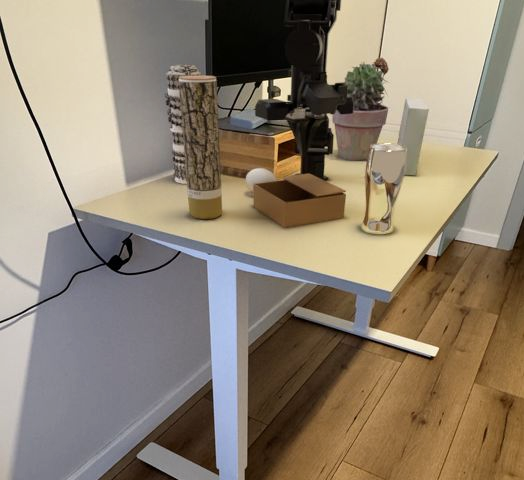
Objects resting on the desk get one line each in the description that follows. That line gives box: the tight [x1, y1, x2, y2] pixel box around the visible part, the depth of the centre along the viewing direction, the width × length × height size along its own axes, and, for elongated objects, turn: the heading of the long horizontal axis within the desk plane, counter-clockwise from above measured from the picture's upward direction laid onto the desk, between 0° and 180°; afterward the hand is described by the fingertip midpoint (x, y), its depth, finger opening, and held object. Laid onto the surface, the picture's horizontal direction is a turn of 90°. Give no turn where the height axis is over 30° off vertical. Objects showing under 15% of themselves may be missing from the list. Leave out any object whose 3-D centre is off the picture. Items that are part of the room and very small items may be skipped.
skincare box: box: [396, 97, 430, 176], centre depth 132 cm, size 21×5×16 cm, turn 168°
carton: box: [252, 179, 347, 229], centre depth 102 cm, size 15×14×5 cm
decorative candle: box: [164, 64, 203, 185], centre depth 117 cm, size 9×9×25 cm
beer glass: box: [360, 142, 407, 235], centre depth 91 cm, size 7×7×15 cm
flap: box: [282, 174, 347, 196], centre depth 102 cm, size 14×7×1 cm, turn 26°
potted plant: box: [331, 57, 392, 161], centre depth 138 cm, size 18×20×25 cm
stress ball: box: [245, 167, 278, 193], centre depth 113 cm, size 8×8×7 cm
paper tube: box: [178, 75, 223, 220], centre depth 95 cm, size 7×7×25 cm
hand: (303, 154), depth 98 cm, fingers closed
